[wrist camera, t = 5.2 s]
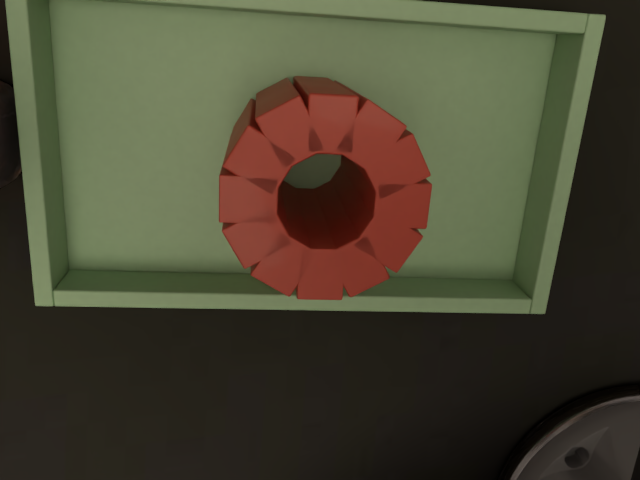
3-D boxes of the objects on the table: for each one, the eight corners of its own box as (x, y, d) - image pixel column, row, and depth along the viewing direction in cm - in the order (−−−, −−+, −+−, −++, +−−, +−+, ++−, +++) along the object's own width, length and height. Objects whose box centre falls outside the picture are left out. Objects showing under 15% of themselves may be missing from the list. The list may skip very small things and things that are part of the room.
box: (572, 16, 27) (607, 14, 24) (520, 290, 31) (545, 314, 29) (29, -25, 24) (0, -32, 22) (55, 280, 29) (34, 306, 26)
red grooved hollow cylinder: (388, 81, 27) (443, 100, 19) (373, 228, 29) (417, 302, 21) (231, 71, 26) (220, 87, 18) (229, 224, 28) (217, 298, 20)
